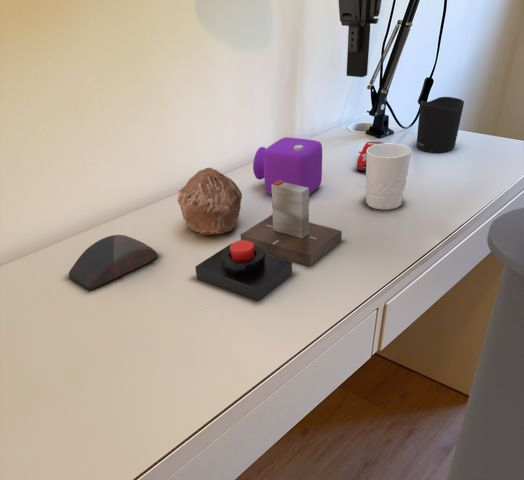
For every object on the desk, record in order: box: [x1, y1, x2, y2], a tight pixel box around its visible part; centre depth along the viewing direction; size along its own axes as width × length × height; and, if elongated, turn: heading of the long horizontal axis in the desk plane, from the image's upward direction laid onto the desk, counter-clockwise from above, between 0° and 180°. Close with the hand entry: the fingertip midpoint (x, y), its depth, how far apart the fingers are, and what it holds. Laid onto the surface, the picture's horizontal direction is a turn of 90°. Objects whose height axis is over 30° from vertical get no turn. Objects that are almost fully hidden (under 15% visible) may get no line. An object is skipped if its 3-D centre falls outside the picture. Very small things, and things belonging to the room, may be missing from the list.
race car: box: [356, 141, 384, 172], centre depth 117 cm, size 13×5×4 cm, turn 162°
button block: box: [194, 243, 293, 302], centre depth 81 cm, size 12×9×4 cm
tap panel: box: [240, 213, 343, 267], centre depth 90 cm, size 14×10×2 cm
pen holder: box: [416, 96, 465, 154], centre depth 122 cm, size 9×9×10 cm
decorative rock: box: [177, 167, 243, 236], centre depth 94 cm, size 13×11×10 cm
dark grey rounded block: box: [67, 234, 158, 291], centre depth 85 cm, size 8×14×4 cm, turn 136°
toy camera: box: [252, 136, 323, 196], centre depth 106 cm, size 11×14×10 cm
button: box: [230, 239, 255, 261], centre depth 80 cm, size 4×4×2 cm
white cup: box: [365, 142, 412, 211], centre depth 98 cm, size 8×8×10 cm
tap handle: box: [271, 180, 310, 239], centre depth 86 cm, size 6×2×8 cm, turn 53°
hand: (356, 75), depth 79 cm, fingers closed
